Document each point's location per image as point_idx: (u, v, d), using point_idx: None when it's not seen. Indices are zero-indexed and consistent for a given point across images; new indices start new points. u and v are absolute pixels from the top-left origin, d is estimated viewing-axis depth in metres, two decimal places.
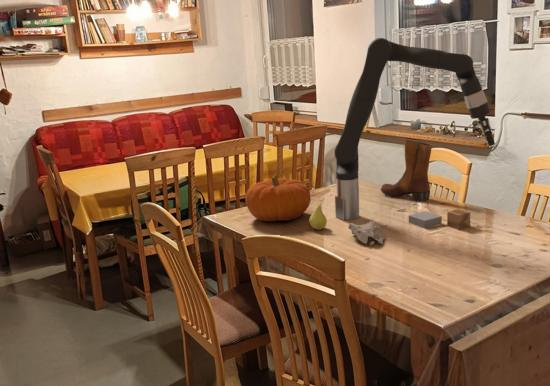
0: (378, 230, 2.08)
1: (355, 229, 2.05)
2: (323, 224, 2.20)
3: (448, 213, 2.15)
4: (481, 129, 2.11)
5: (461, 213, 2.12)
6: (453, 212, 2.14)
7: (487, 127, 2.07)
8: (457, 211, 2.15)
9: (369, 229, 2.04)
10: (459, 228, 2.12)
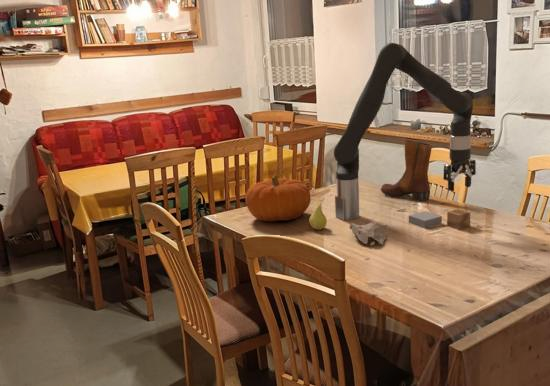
0: (379, 230, 2.07)
1: (356, 229, 2.05)
2: (323, 224, 2.20)
3: (448, 213, 2.15)
4: None
5: (461, 213, 2.12)
6: (453, 212, 2.14)
7: (446, 172, 2.06)
8: (457, 211, 2.15)
9: (370, 229, 2.03)
10: (459, 228, 2.12)
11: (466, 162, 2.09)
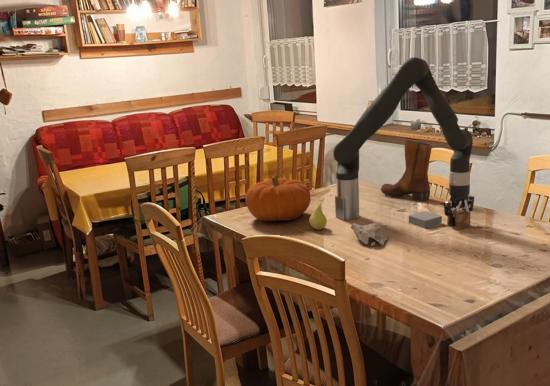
0: (381, 231, 2.06)
1: (357, 229, 2.05)
2: (323, 224, 2.20)
3: None
4: None
5: (461, 213, 2.12)
6: None
7: (447, 209, 2.10)
8: None
9: (371, 230, 2.03)
10: (459, 228, 2.12)
11: (465, 197, 2.12)
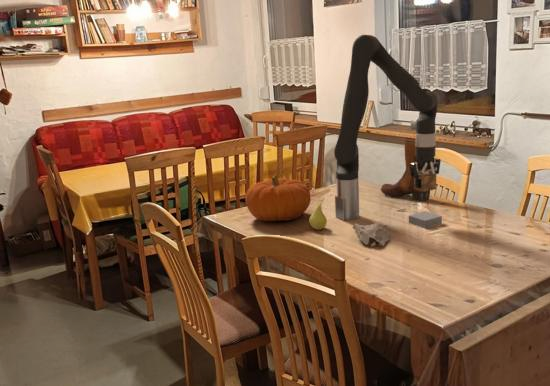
0: (382, 231, 2.06)
1: (358, 229, 2.05)
2: (323, 224, 2.20)
3: None
4: None
5: (427, 175, 2.15)
6: None
7: (413, 170, 2.13)
8: (424, 173, 2.18)
9: (372, 230, 2.02)
10: (425, 189, 2.14)
11: (431, 159, 2.15)
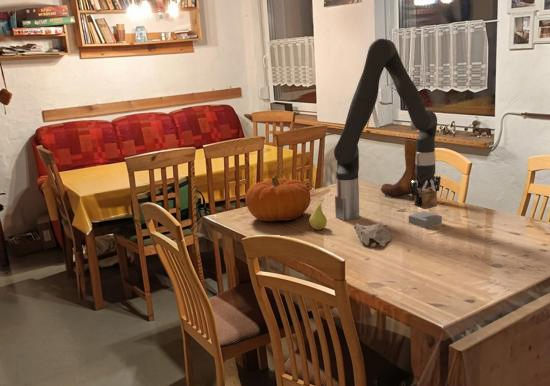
0: (383, 232, 2.05)
1: (359, 230, 2.05)
2: (323, 224, 2.20)
3: None
4: None
5: (427, 192, 2.17)
6: None
7: (413, 189, 2.15)
8: (424, 190, 2.20)
9: (372, 230, 2.02)
10: (426, 207, 2.16)
11: (432, 177, 2.17)
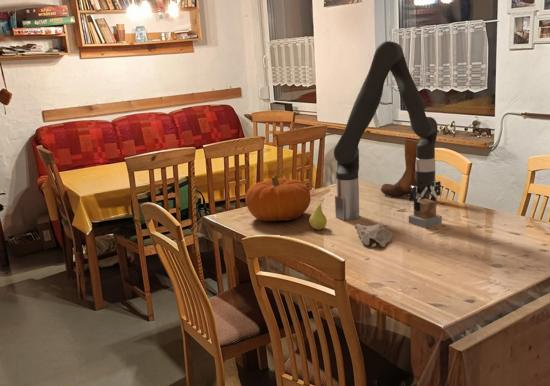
0: (384, 232, 2.05)
1: (359, 230, 2.04)
2: (323, 224, 2.20)
3: None
4: None
5: (427, 202, 2.18)
6: (419, 201, 2.19)
7: (412, 193, 2.15)
8: (423, 200, 2.21)
9: (373, 231, 2.02)
10: (425, 217, 2.17)
11: (431, 183, 2.18)
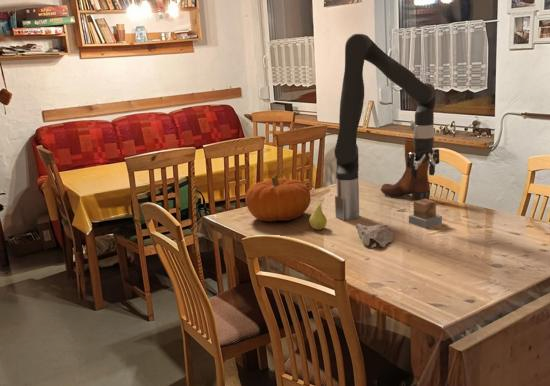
0: (385, 233, 2.04)
1: (360, 230, 2.04)
2: (323, 224, 2.20)
3: (414, 203, 2.20)
4: None
5: (427, 202, 2.17)
6: (419, 202, 2.19)
7: (410, 160, 2.13)
8: (423, 200, 2.20)
9: (373, 231, 2.01)
10: (425, 217, 2.17)
11: (429, 151, 2.16)
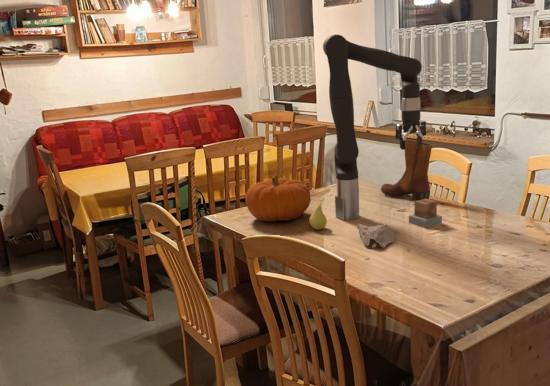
0: (386, 233, 2.04)
1: (361, 230, 2.04)
2: (323, 224, 2.20)
3: (415, 202, 2.20)
4: None
5: (428, 202, 2.18)
6: (420, 201, 2.19)
7: (398, 132, 2.23)
8: (424, 200, 2.21)
9: (374, 231, 2.01)
10: (426, 217, 2.17)
11: (417, 123, 2.26)
